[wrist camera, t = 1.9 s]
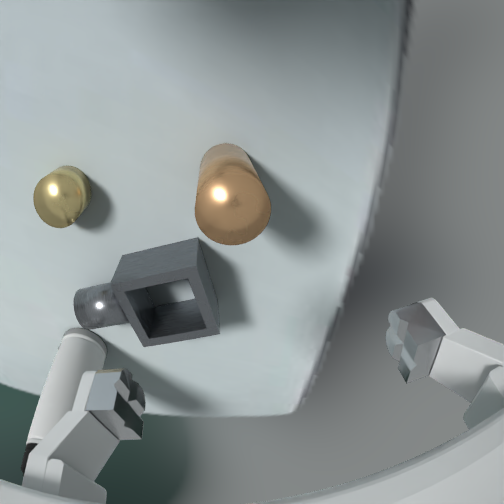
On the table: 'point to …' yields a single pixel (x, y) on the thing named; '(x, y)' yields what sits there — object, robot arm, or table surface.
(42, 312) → the table surface
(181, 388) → the table surface
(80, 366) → the travel mug
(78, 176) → the brass round knob
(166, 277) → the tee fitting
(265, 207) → the copper brown cylinder
